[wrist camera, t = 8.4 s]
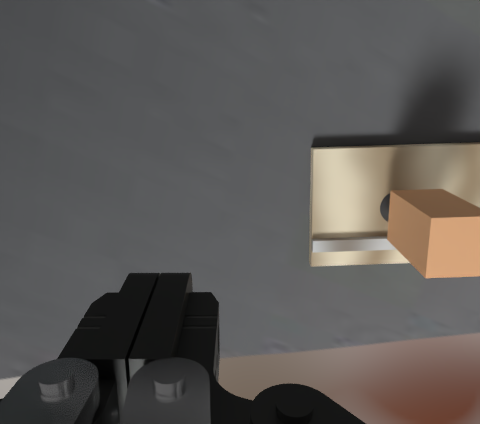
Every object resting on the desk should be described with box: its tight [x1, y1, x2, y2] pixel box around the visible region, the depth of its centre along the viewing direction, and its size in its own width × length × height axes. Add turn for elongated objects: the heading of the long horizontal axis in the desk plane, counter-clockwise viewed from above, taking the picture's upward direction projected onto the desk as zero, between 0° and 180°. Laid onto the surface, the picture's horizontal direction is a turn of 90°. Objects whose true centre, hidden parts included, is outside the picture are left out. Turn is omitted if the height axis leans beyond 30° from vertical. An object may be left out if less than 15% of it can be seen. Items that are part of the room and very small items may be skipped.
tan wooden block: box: [387, 189, 480, 278], centre depth 33 cm, size 4×4×9 cm
